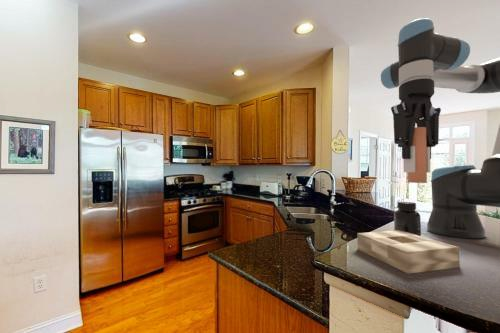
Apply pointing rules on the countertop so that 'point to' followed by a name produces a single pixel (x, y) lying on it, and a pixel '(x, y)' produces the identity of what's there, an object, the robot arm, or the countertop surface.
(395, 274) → the countertop surface
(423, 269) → the bore block
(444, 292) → the countertop surface
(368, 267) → the countertop surface
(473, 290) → the countertop surface
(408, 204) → the supplement bottle
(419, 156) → the terracotta dowel
